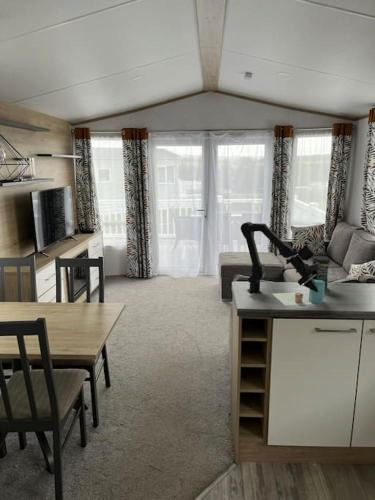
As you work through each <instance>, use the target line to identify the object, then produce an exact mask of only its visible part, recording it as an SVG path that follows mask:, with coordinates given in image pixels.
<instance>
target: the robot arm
mask: <svg viewBox="0 0 375 500" xmlns="http://www.w3.org/2000/svg"><path fill="white" fill-rule="evenodd" d="M240 231H241V233H242V235H243V237H244V239H245V240H246V245H247V249H248V252H249V256H250V260H251V275H250V277H248V278H247V280H248V283H249V288H248V289H247V292H248V293H250V294H260V293H261V294H262V293H263V292H262V291H261V280H262V279H263V278H264V277H265V276H266V272H267V270H266V266H265V264H262V263H261V260H260V256H259V252H258V248H257V244H256V240H255V232H260V233H262V234H263V235H264V237H266V238H267V239H268V240H269V241H270V242H271V243H272V244H273V245H274V246H275V247H276V248H277V250H278V252H279V253H280V255H281V256H282V257H283V258H285V259H286V260H285V261H286V263H285V264H286V265H289V264H290V265H292V267H293V268H294V269H295V273H296V274H297V273H298V274H299V276H300V278H299V279H298V280H297V284H298V285H299V286H300V287H301V286H302V287H305V288H308V289H309V290H310V289H311V290H313V291H315V292H318V289H317V288H316V286H315V285H314V283H313V280H319V278H318V277H319V274H318V273H319V272H320V271H319V269H321V266H320V265H321V264H320V263H319V262H317V261H315V262H313V264H312V263H311V264H309V263H306V262H305V261H308V260H309V259H311V258H313V256H316V252H315V250H314V249H313V247H311V246H309V245H308V244H307V243H306V244H304V245H303V246H302V247H301V248H300V249H299V248H294V247H293V246H292V245H290V244H289V243H288V242H286V241H283V240H282V239H281V238H280V237H279V236H278V235H277V234H276V233H275V232H274V231H273V230H272V229H270V227H269V226H267V224H266V223H253V222H251V221H246V222H243V223H242V224H241V225H240Z"/></svg>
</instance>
